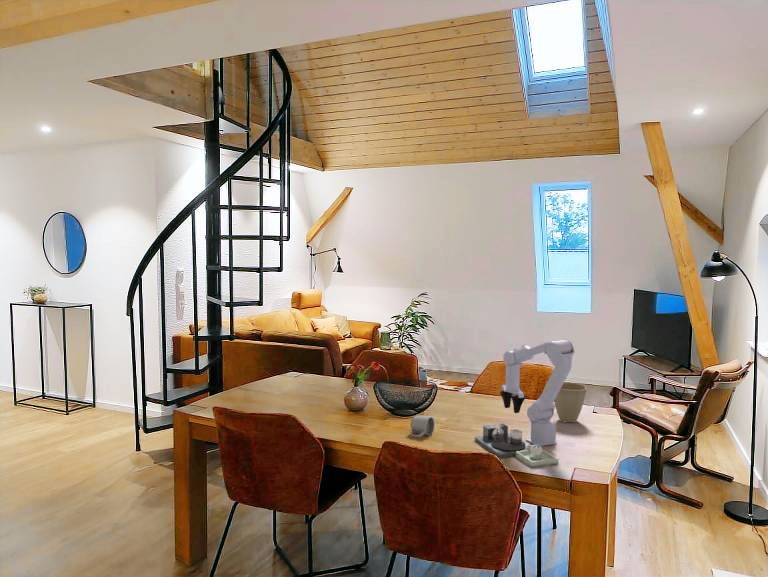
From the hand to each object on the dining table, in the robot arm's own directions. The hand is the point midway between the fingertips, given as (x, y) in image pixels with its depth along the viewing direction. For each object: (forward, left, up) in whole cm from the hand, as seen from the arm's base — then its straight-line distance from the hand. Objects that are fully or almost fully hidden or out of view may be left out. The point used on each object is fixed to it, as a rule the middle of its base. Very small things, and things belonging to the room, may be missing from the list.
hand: (511, 410), depth 243 cm
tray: (+8, +31, -9) cm, 33 cm away
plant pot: (-33, -6, -10) cm, 35 cm away
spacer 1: (+9, +18, -7) cm, 21 cm away
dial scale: (+12, +15, -9) cm, 21 cm away
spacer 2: (+8, +31, -9) cm, 33 cm away
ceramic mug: (+38, -9, -10) cm, 40 cm away
